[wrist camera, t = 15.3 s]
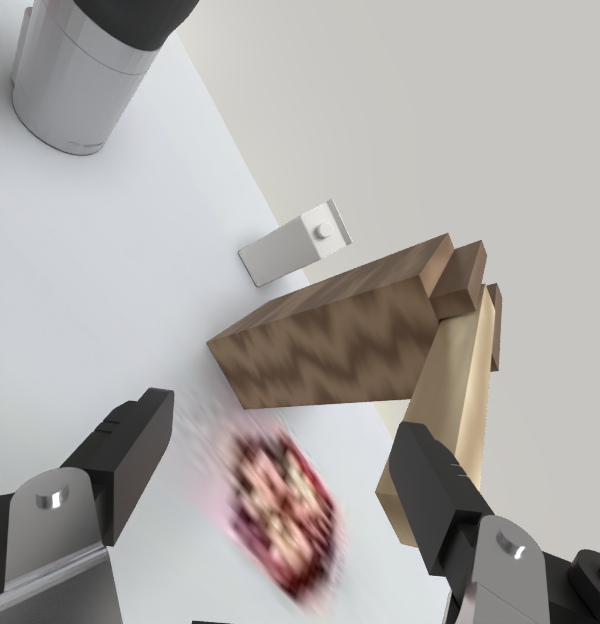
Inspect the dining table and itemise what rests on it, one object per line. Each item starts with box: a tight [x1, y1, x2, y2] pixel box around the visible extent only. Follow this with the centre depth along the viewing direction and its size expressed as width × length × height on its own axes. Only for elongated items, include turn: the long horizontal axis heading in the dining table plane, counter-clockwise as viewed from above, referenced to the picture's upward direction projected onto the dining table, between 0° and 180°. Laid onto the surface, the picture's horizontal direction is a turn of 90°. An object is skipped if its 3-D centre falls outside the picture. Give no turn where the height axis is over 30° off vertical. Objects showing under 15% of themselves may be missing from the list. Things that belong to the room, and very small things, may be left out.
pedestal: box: [206, 233, 502, 409], centre depth 42 cm, size 12×16×35 cm
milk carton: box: [238, 199, 353, 287], centre depth 52 cm, size 7×7×19 cm
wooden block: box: [375, 284, 495, 548], centre depth 22 cm, size 3×24×3 cm, turn 133°
